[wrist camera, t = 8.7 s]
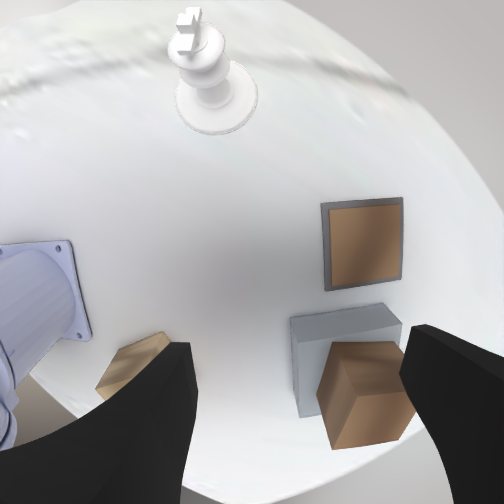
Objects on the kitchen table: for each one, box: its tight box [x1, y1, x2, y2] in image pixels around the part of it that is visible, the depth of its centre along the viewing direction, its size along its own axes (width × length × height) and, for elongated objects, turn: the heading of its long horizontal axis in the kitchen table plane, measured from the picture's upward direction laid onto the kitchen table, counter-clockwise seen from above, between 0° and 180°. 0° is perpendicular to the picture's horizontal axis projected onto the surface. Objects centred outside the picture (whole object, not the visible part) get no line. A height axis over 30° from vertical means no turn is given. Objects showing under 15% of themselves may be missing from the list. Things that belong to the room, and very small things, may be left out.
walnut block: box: [316, 341, 416, 450], centre depth 15 cm, size 4×4×5 cm
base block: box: [290, 303, 402, 418], centre depth 19 cm, size 7×7×4 cm
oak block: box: [95, 331, 196, 401], centre depth 18 cm, size 4×4×5 cm
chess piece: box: [168, 7, 258, 135], centre depth 11 cm, size 5×5×10 cm
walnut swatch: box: [321, 197, 403, 291], centre depth 18 cm, size 6×6×1 cm
